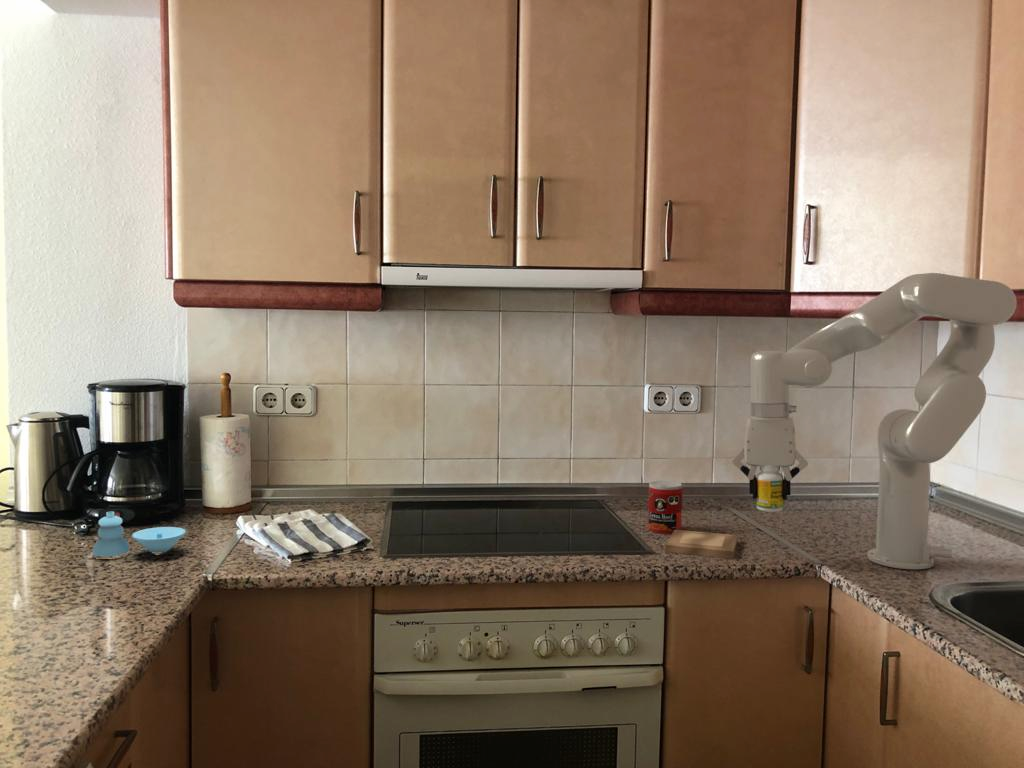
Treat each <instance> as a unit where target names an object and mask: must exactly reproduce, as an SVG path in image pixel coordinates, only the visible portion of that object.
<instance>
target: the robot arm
mask: <svg viewBox="0 0 1024 768" xmlns="http://www.w3.org/2000/svg"><path fill="white" fill-rule="evenodd" d="M1017 303H1018V302H1017V297H1016V294H1015V293H1014V291H1013V290H1012V288H1010V286H1008V285H1007V284H1005V283H1003V282H1000V281H995V280H989V279H988V280H987V279H981V278H974V277H973V278H972V277H965V276H958V275H952V274H945V273H938V272H928V273H926V272H925V273H917V274H916V273H915V274H912V275H908V276H905V277H904V278H903V279H901V280H899V281H897V282H896V283H894V284H893V285H891V286H890V287H889V288H887V289H885V290H884V291H882V292H881V293H880V294H878V295H877V296H875V297H874V298H872V299H871V300H869V301H868V302H866V303H864V304H862V306H860V307H858V308H856V309H855V310H853V311H852V312H850V313H848V314H846V315H844V316H842V317H840V318H839V319H837V320H835V321H834V322H832V323H830V324H828V325H826V326H825V327H822V328H821V329H818V330H817V331H815V332H814V333H812V334H811V335H810V336H808V337H806V338H805V339H803V340H801V341H800V342H799V343H797V344H796V345H794V346H793V347H791V348H790V349H789V350H787V352H785V351H780V350H761V351H755V352H753V353H752V354H751V356H750V416H747V418H746V423H745V429H744V430H745V431H744V443H743V444H744V445H743V446H744V447H743V449H741V450H740V451H739V452H738V454H737V455H736V456H735V457H734V458H733V460H732V464H733V465H734V466H735V467H737V468H738V469H739V470H740V471H741V472H742V473H743V474H744V476H746V477H747V479H748V480H749V483H748V485H749V490H748V491H749V492H748V493H749V495H752V499H753V500H756V499H757V474H756V472H757V469H758V468H759V467H760V466H766V465H772V466H776V467H780V468H781V470H782V472H783V475H784V476H783V501H787V500H788V496H791V482H792V480H793V478H795V477H796V476H797V475H798V474H799V473H800V472H801V471H803V470H804V469H805V468H807V467H808V466H809V462H808V461H807V459H806V458H805V457H804V456H803V455H802V454H801V452H800V451H799V450H797V446H796V430H795V422H794V418H793V417H792V416H790V414H793V413H797V405H793V404H791V403H790V386H799V387H806V388H814V387H818V386H821V385H823V384H824V383H826V382H827V381H828V380H829V379H830V377H831V375H832V373H833V363H834V362H835V363H836V362H837V361H838V360H840V359H842V358H844V357H847V356H849V355H852V354H855V353H860V352H864V351H867V350H871V349H873V348H876V347H878V346H880V345H883V344H884V343H885V342H886V341H888V340H890V339H891V338H892V337H894V336H896V335H897V334H898V333H900V332H902V331H903V330H905V329H906V328H909V326H911V325H912V324H914V323H916V322H918V321H919V320H920V319H922V318H924V317H933V318H934V317H935V318H940V319H945V320H949V323H950V333H949V337H948V340H947V341H946V343H945V345H944V347H943V348H942V350H941V351H940V352H939V354H938V355H937V356H936V358H935V359H934V360H933V361H932V363H931V364H930V365H929V366H928V367H927V368H926V370H925V371H924V372H923V374H922V375H921V377H920V378H919V379H918V381H917V382H916V384H915V387H914V399H915V401H916V402H917V404H918V405H919V406H920V407H921V408H919V410H918V411H917V410H913V409H906V408H901V409H895V410H892V411H890V412H889V413H887V414H886V415H885V416H884V417H883V418H882V419H881V421H880V423H879V425H878V430H877V446H878V457H879V458H878V459H879V478H878V479H879V480H878V494H877V495H878V496H877V497H878V498H877V515H876V516H877V519H876V538H875V540H876V541H875V548H873V549H869V550H868V551H867V558H868V560H869V561H871V562H872V563H875V564H877V565H880V566H885V567H889V568H893V569H901V570H926V569H930V568H932V567H933V566H934V564H935V557H936V558H937V557H938V558H943V559H952V556H953V551H952V548H945V547H943V546H939V545H938V546H937V545H936V546H935V545H931V544H930V543H929V541H928V538H927V537H928V523H929V522H928V520H929V519H928V518H929V500H930V486H931V470H930V464H933V463H936V462H938V461H940V460H942V459H943V458H945V457H946V456H947V455H948V454H949V453H950V452H951V450H952V449H954V447H956V444H957V443H958V442H959V441H960V439H961V438H962V437H963V436H964V434H965V433H966V432H967V431H968V429H969V428H970V427H971V426H972V424H973V423H974V421H976V419H977V418H978V416H980V413H981V412H982V410H983V408H984V405H985V403H986V399H987V390H986V385H985V383H984V381H983V380H982V379H981V378H980V377H979V376H980V375H981V373H982V372H983V370H984V369H985V367H986V366H987V365H988V363H989V361H990V360H991V358H992V356H993V353H994V350H995V345H996V344H995V341H996V340H995V339H996V337H995V336H996V335H995V334H996V333H995V328H994V327H995V326H997V325H998V326H999V325H1001V324H1004V323H1006V322H1007V321H1009V319H1010V318H1011V317H1013V315H1014V313H1015V312H1016V309H1017V305H1018V304H1017ZM742 460H744V463H745V464H744V463H743V462H742ZM796 461H798V464H796V466H794V465H795V463H796ZM747 465H748V466H750V468H749V467H748V466H747ZM792 466H794V467H793V468H790V467H792Z"/></svg>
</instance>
